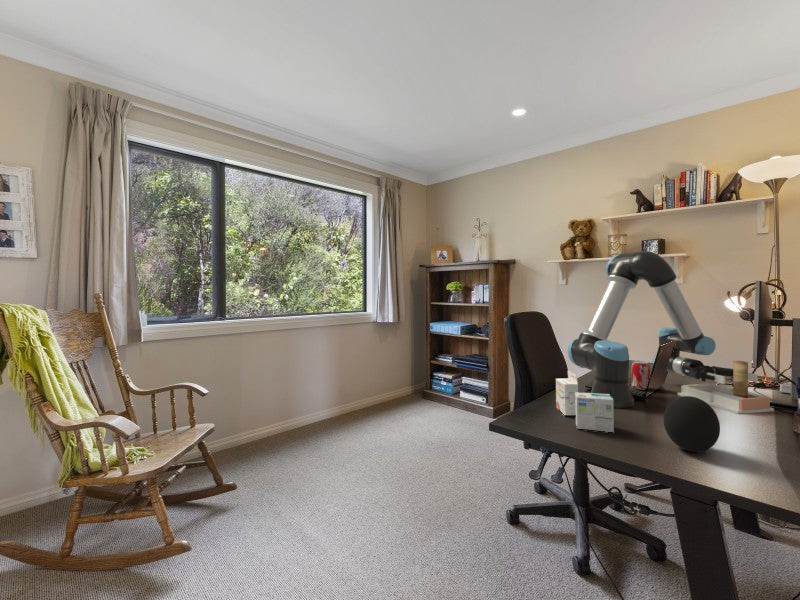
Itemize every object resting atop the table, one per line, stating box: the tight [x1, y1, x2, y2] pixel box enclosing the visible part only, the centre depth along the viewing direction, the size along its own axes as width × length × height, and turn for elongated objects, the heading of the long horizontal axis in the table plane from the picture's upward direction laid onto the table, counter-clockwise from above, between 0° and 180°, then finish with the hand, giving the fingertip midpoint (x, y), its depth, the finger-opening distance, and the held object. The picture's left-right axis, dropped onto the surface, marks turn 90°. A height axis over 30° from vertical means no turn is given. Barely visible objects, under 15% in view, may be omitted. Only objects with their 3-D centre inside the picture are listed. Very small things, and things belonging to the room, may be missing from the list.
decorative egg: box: [663, 396, 721, 453], centre depth 104 cm, size 12×12×15 cm
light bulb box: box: [575, 391, 615, 434], centre depth 122 cm, size 11×7×11 cm, turn 71°
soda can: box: [630, 360, 651, 388], centre depth 165 cm, size 7×7×12 cm
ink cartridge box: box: [555, 370, 579, 416], centre depth 137 cm, size 9×5×15 cm, turn 179°
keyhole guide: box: [677, 383, 775, 415], centre depth 145 cm, size 15×24×5 cm, turn 8°
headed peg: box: [732, 360, 749, 398], centre depth 138 cm, size 8×8×16 cm
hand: (740, 379), depth 138 cm, fingers open, 13 cm apart
